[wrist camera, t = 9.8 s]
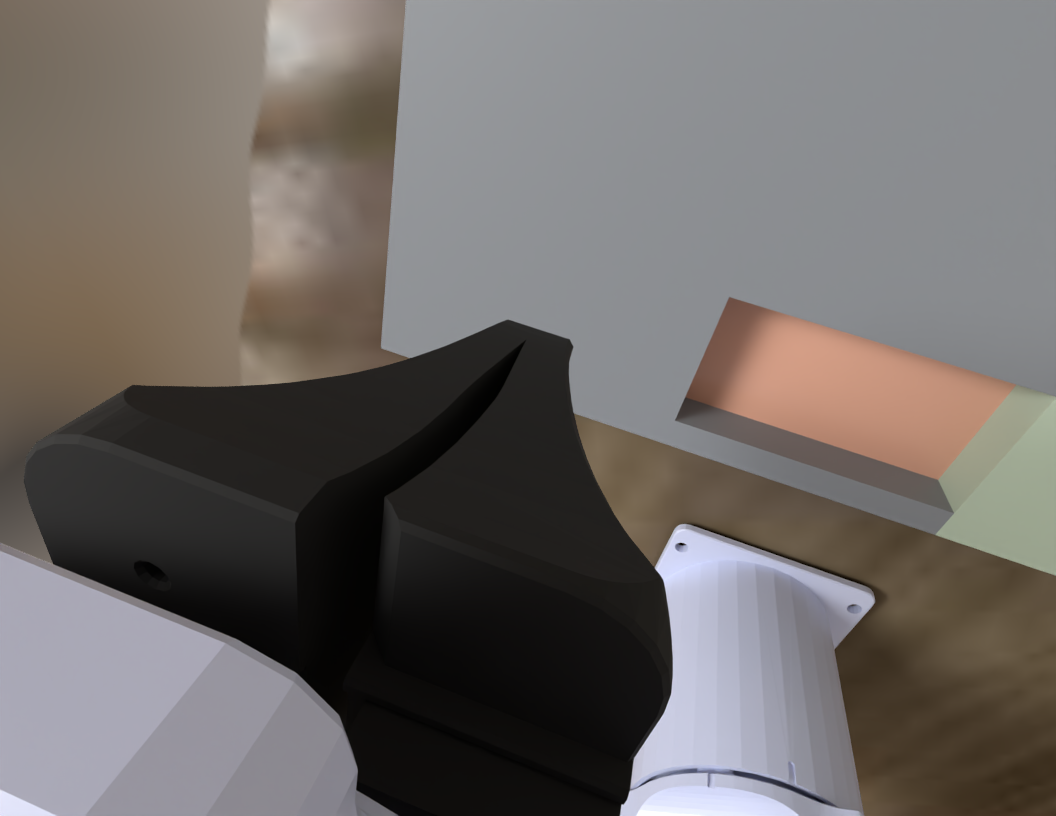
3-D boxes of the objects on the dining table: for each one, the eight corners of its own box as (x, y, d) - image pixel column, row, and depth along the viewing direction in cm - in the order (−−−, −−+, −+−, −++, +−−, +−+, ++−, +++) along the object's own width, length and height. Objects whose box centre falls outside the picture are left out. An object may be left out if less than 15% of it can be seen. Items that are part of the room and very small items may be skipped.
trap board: (1145, 570, 20) (1227, 675, 17) (405, 325, 23) (352, 374, 20) (2140, -228, 9) (2944, -377, 6) (485, -497, 12) (396, -695, 9)
